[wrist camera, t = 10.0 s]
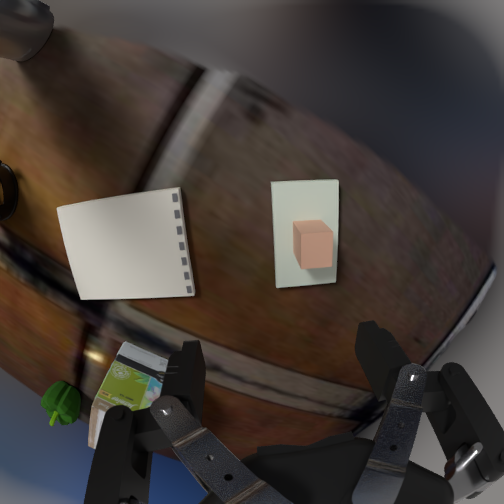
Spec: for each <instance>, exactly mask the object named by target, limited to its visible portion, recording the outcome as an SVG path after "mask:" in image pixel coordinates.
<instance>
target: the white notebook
mask: <svg viewBox="0 0 504 504" xmlns="http://www.w3.org/2000/svg"><path fill="white" fill-rule="evenodd" d="M57 212H58V217H59V222H60V227H61V231H62V235H63V240H64V244H65V248H66V252H67V255H68V259H69V263H70V266H71V270H72V273H73V276H74V280H75V283H76V286H77V289H78V292H79V295H80V298H81V300H89V299H133V298H159V297H181V296H194V295H195V286H194V280H193V274H192V268H191V262H190V255H189V249H188V242H187V235H186V228H185V221H184V213H183V205H182V197H181V189H180V187H178V188H169V189H162V190H154V191H147V192H140V193H133V194H126V195H120V196H114V197H108V198H102V199H96V200H91V201H85V202H80V203H75V204H70V205H65V206H61V207H58V208H57Z"/></svg>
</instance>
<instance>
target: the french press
mask: <svg viewBox="0 0 504 504" xmlns="http://www.w3.org/2000/svg"><path fill="white" fill-rule="evenodd" d="M0 181H1V184H2V188H3V195H4V204H3V205H1V206H0V221H1V220H7V219H8V218H10V217H11V216H12V215H13V213H14V212H15V210H16V207H17V202H18V185H17V180H16V177H15V175H14V172H13V171H12V169H11V168H10V167H9V166H8V165H6V164H4V163H2V161H1V160H0Z"/></svg>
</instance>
